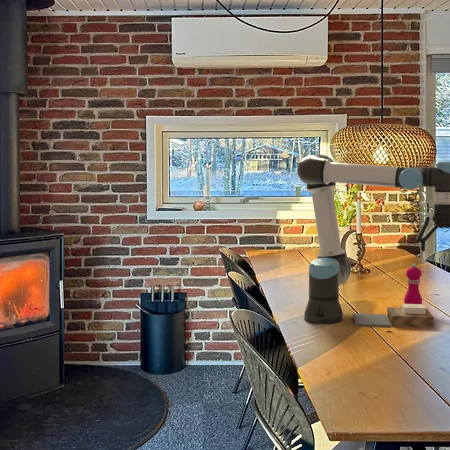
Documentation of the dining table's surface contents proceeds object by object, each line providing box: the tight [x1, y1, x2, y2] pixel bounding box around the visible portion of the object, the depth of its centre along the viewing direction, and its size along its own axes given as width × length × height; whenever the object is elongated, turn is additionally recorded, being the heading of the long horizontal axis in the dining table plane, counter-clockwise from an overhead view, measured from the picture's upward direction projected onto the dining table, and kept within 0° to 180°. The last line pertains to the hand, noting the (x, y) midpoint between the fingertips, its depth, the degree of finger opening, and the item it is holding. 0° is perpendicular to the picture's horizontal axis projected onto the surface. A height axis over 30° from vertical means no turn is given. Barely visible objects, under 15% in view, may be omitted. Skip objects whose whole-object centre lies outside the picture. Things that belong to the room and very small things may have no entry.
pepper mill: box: [403, 263, 423, 304], centre depth 245 cm, size 7×7×20 cm
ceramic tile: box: [401, 303, 427, 314], centre depth 230 cm, size 8×6×2 cm
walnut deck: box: [386, 306, 434, 328], centre depth 231 cm, size 15×13×4 cm
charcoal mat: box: [352, 312, 392, 328], centre depth 233 cm, size 13×15×1 cm
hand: (442, 259), depth 226 cm, fingers open, 12 cm apart
